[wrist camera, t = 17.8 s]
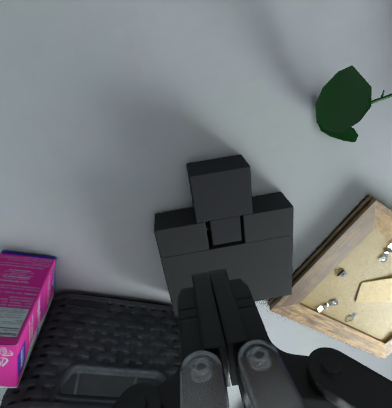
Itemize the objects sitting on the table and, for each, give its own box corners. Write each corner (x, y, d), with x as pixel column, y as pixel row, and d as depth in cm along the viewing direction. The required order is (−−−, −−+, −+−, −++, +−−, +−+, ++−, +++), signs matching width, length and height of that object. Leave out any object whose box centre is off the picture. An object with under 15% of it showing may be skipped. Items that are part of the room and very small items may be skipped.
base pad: (173, 294, 38) (174, 316, 35) (154, 213, 32) (153, 231, 29) (281, 274, 38) (291, 294, 35) (281, 191, 32) (293, 206, 29)
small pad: (197, 229, 34) (200, 247, 30) (186, 163, 30) (189, 176, 27) (245, 221, 34) (254, 238, 31) (241, 154, 30) (250, 166, 27)
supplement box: (57, 294, 36) (17, 391, 26) (3, 288, 34) (-62, 388, 24) (59, 256, 33) (16, 347, 23) (1, 248, 32) (-71, 342, 22)
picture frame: (476, 270, 42) (367, 194, 34) (489, 279, 40) (377, 201, 32) (377, 350, 48) (266, 301, 40) (385, 360, 46) (270, 312, 38)
